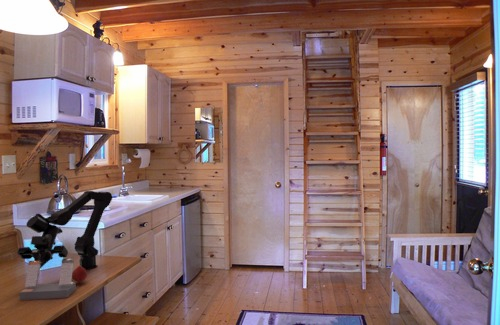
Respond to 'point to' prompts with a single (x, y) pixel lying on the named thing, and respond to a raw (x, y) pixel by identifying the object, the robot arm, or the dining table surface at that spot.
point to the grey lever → (66, 271)
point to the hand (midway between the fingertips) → (36, 270)
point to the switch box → (47, 291)
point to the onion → (79, 274)
